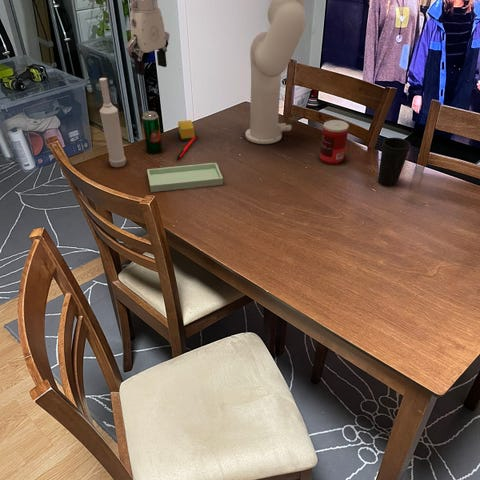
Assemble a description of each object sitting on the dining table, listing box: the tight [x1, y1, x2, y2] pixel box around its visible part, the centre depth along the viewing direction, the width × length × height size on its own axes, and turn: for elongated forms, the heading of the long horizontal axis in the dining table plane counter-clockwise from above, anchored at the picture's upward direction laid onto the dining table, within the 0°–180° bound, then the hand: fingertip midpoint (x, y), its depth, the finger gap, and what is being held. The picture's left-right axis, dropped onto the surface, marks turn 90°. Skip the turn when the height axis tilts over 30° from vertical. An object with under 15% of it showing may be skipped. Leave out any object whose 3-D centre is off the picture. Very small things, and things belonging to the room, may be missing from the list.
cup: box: [377, 137, 412, 188], centre depth 139 cm, size 8×8×12 cm
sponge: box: [177, 119, 196, 142], centre depth 164 cm, size 4×7×4 cm, turn 13°
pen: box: [176, 134, 197, 161], centre depth 158 cm, size 1×19×1 cm, turn 166°
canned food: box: [319, 119, 350, 165], centre depth 150 cm, size 8×8×11 cm
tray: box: [146, 162, 224, 193], centre depth 142 cm, size 21×10×2 cm, turn 103°
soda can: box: [141, 110, 163, 154], centre depth 153 cm, size 5×5×12 cm
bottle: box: [99, 77, 127, 168], centre depth 142 cm, size 5×5×25 cm
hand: (151, 70), depth 146 cm, fingers open, 9 cm apart
